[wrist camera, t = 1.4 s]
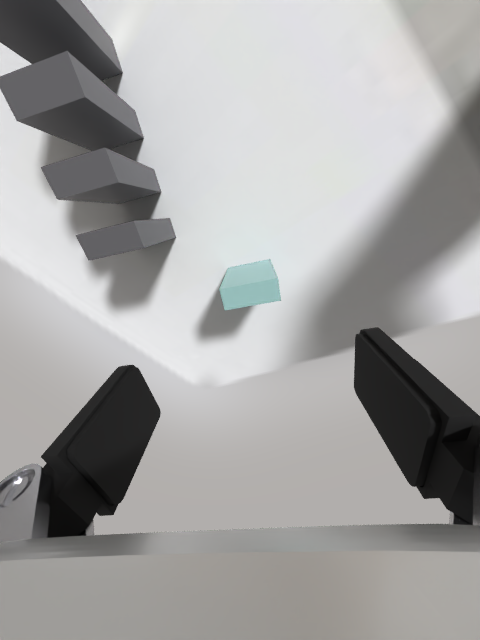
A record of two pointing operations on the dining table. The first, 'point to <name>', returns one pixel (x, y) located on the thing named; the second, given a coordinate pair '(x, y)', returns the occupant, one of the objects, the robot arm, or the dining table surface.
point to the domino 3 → (101, 178)
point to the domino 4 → (125, 237)
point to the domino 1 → (57, 33)
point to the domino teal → (250, 285)
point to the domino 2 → (70, 103)
